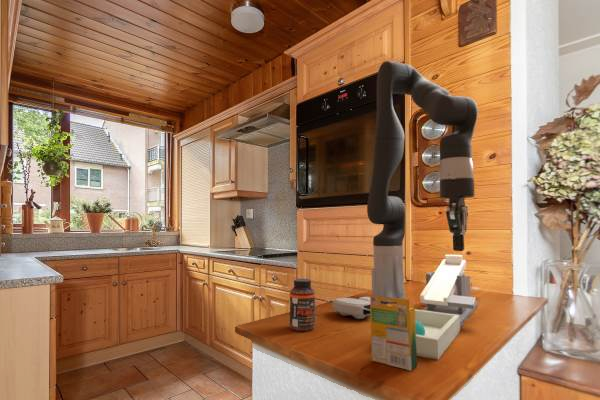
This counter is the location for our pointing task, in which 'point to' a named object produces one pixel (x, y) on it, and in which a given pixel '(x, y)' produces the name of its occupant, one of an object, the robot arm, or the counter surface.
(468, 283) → the architectural model
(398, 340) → the crayon box
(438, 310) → the stand
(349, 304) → the robot toy
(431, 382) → the counter surface
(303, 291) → the supplement bottle
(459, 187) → the robot arm
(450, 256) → the trough
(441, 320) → the tray
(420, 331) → the ball
